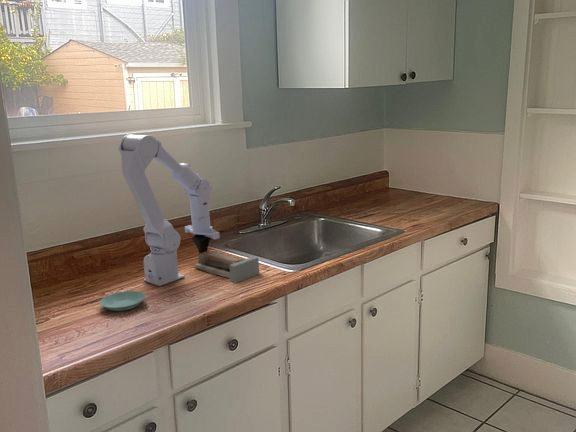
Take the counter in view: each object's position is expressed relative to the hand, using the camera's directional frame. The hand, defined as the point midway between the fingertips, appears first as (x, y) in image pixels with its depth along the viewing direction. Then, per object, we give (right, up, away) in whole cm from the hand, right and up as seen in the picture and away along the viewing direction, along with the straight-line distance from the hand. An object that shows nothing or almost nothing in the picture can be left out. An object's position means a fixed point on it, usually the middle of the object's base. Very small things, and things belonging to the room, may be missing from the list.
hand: (203, 256), depth 186 cm
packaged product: (+7, -4, -5) cm, 10 cm away
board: (+14, -5, -12) cm, 19 cm away
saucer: (-17, -11, -30) cm, 37 cm away
